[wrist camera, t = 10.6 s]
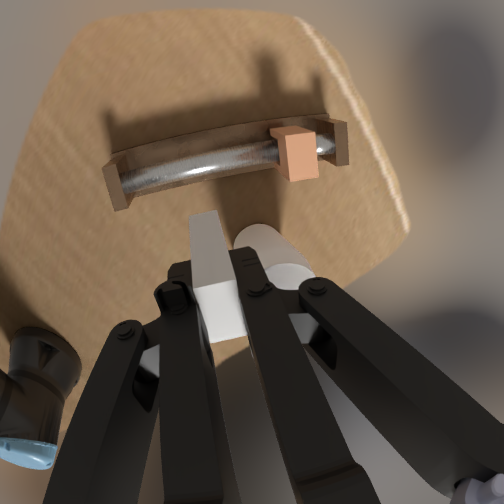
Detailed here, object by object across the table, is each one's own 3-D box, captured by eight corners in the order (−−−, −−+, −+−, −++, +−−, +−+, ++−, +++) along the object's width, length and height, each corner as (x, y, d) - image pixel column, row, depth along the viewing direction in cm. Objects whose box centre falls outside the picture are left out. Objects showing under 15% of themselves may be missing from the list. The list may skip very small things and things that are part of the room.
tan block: (274, 167, 34) (289, 181, 29) (269, 128, 31) (285, 135, 27) (299, 163, 34) (318, 177, 29) (295, 125, 32) (315, 131, 27)
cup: (234, 208, 39) (251, 255, 29) (297, 222, 42) (333, 268, 31) (217, 268, 43) (228, 326, 32) (277, 276, 45) (302, 332, 35)
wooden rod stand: (124, 198, 35) (114, 216, 30) (111, 153, 32) (98, 164, 27) (330, 157, 38) (350, 168, 33) (326, 113, 35) (348, 117, 30)
